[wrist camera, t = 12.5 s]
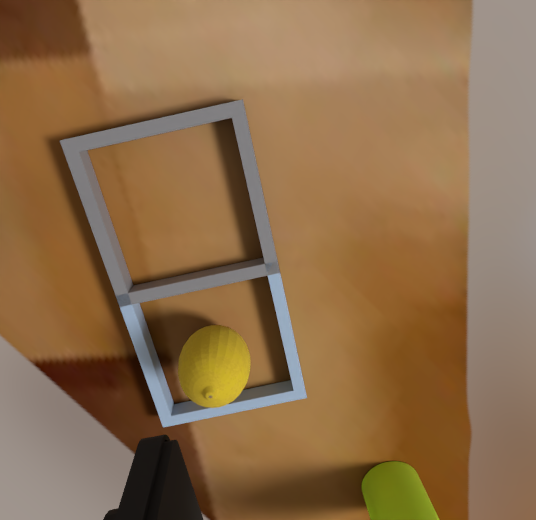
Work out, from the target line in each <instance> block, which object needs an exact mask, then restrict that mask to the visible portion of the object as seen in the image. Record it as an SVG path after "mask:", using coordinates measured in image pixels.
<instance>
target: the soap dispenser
mask: <svg viewBox="0 0 536 520" xmlns="http://www.w3.org/2000/svg"><path fill="white" fill-rule="evenodd" d="M362 493H363V496H364V499H365V503H366V506H367V509H368V512H369V516H370V519H371V520H439V518H438V516H437V514H436V512H435V510H434V507H433V505H432V503H431V501H430V499H429V497H428V495H427V493H426V491H425V489H424V487H423V484H422V482H421V480H420V478H419V476H418V474H417V472H416V471H415V469H414V468H413V467H411V466H410V465H408V464H406V463H403V462H398V461H390V462H385V463H381V464H379V465H377V466H375V467H373V468H372V469H371V470H370V471H369V472H368V473H367V474H366V475H365V477H364V478H363V481H362Z"/></svg>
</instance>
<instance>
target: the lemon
mask: <svg viewBox="0 0 536 520" xmlns="http://www.w3.org/2000/svg"><path fill="white" fill-rule="evenodd" d="M249 373H250V354H249V351H248V348H247V345H246V343H245V342H244V340H243V339H242V337H241V336H240V335H239V334H238V333H237V332H236V331H234V330H232V329H231V328H229V327H225V326H221V325H211V326H206V327H204V328H201V329H199V330H197V331H196V332H195V333H194V334H192V335H191V336H190V337H189V339H188V340H187V341H186V343H185V344H184V346H183V348H182V351H181V354H180V357H179V364H178V376H179V380H180V384H181V387H182V389H183V391H184V393H185V394H186V396H187V397H188V398H189V399H190V400H191V401H193V402H194V403H196V404H197V405H200V406H203V407H208V408H217V407H222V406H225V405H227V404H229V403H230V402H232V401H234V400H235V399H236V398H237V397H238V396H239V395H240V394H241V392H242V390H243V389H244V387H245V385H246V383H247V380H248V376H249Z"/></svg>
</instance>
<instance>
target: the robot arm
mask: <svg viewBox="0 0 536 520" xmlns="http://www.w3.org/2000/svg"><path fill="white" fill-rule="evenodd" d="M103 520H203V517H202V514H201V511H200V508H199V505H198V502H197V499H196V496H195V493H194V490H193V487H192V484H191V481H190V477H189V474H188V471H187V468H186V465H185V462H184V459H183V456H182V453H181V450H180V447H179V444H178V442H177V440H171V441H170V439H169V437H168V436H167V435H161V436H155V437H150V438H144V439H141V440H140V441H139V444H138V447H137V450H136V453H135V456H134V459H133V463H132V466H131V469H130V472H129V476H128V479H127V482H126V486H125V489H124V492H123V496H122V498H121V502H120V505H119V508H118V509H113V510H110V511H108V513H107V514H106V515H105V517H104V519H103Z"/></svg>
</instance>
